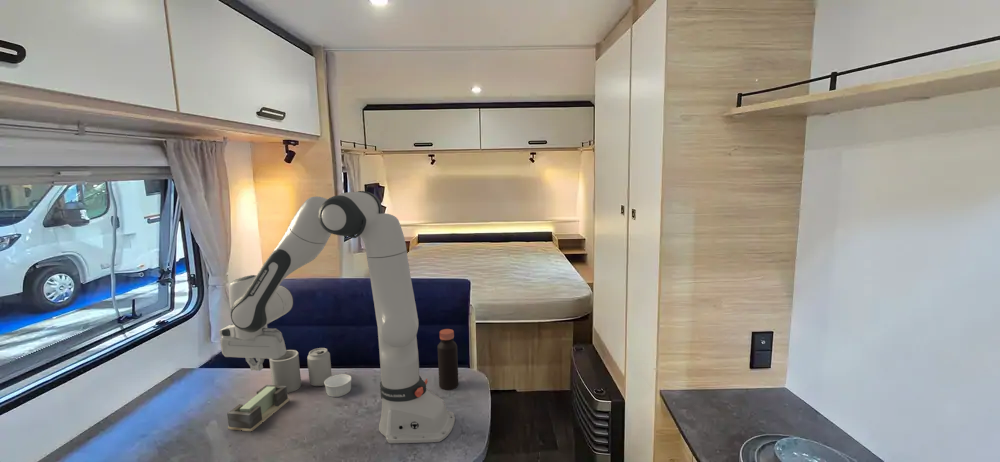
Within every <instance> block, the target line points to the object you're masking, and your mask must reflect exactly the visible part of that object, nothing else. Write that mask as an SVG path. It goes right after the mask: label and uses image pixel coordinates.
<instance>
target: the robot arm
mask: <svg viewBox="0 0 1000 462" xmlns="http://www.w3.org/2000/svg"><path fill="white" fill-rule="evenodd" d="M382 211H383V207H382V203H381V201H380V199H379V198H378V196H377V195H375V194H374V193H372V192H369V191H365V190H360V191H347V192H343V193H341V194H338V195H333V196H331V197H329V198H326V197H323V196H311V197H308V198H307V199H306V200H305V201H304V202H303V203H302V204H301V206H300V207H299V209H298V210H297V211H296V213H295V214H294V216H293V218H292V219H291V221H290V223H289V225H288V227H287V228H286V230H285V233H284V234H283V235H282V238H281V239H280V241H279V242H278V244H277V245H276V247H275V248H274V249H273V251H272V253H270V255H269V256H268V258H267V259H266V260H265V262H263V265H262V266H261V268H260V270H258V272H257V275H255V274H250V275H247V276H243V277H239V278H236V279H235V280H232V281H231V282H230V283H229V286H228V298H229V299H228V301H229V307H230V318H231V322H232V323H231V324H229V325H227V326H225V327H223V328H221V329H219V331H218V333H219V336H220V337H221V338H220V339H219V340H220V349H221V354H222V356H224V357H225V358H243V359H244V358H245V362H247V363H246V364H248V366H249V367H250V370H251V371H257V372H258V371H259V372H260V371H262V370H263V369H264V366H263V363H264V361H265V359H267V360H269V359H279V358H281V357H282V356H284V355H285V353H286V350H287V348H286V344H285V343H286V342H285V340H284V337H283V333H282V332H281V331H280V330H279V329H278V328H274V327H273V328H272V327H271V328H269V327H268V325H269V324H270V323H272V322H273V321H275V320H278V319H279V318H281V317H282V316H283V317H284V315H286V314H287V313H289V312H290V311H291V310H292V309H293V306H294V297H293V294H292V292H291V291H290V289H288V287H285V286H284V285H281V284H282V282H283V281H284V280H285V279H286V278H287V277H288V276H289V275H291V274H292V273H294V272H296V270H298V269H300V268H302V267H304V266H305V265H307V264H309V263H311V262H312V261H314V260H315V259H316V258H317V257H318V256H319V255H320V254H321V252H322V251H323V250H324V249H325V246H326V244H327V243H328V241H329V240H330V239H329V238H331V235H334V236H341V237H347V238H351V239H357V238H359V237H360V238H361V239H362V241H363V244H364V248H365V252H366V253H365V254H366V262H367V266H368V272H369V273H368V274H369V278H370V286H371V292H372V300H373V304H374V312H375V313H374V314H375V320H376V325H377V336H378V337H377V339H378V349H379V350H378V351H379V364H380V379H381V380H380V382H379V384H380V385H379V390H380V392H379V393H380V398H381V414H380V419H379V420H380V421H379V425H378V430H379V432H380V433H381V435H383V436H384V437H385V440H386V442H387V443H388V444H411V443H413V444H415V443H417V444H418V443H420V444H421V443H439V442H442V441H443V440H445V438H447V437H448V436H449V435H450V433H452V430H453V429H454V426H455V422H456V418H455V413H454V412H453V411H451V410H447V405H446V402H445V400H444V399H443V398H442V397H440V396H438V395H437V394H435V393H434V392H432V390H430V389H428V388H427V384H428V382H429V381H428V378H425V380H423V379H422V376H421V374H420V361H419V349H418V339H417V335H418V330H419V317H418V311H417V304H416V301H415V299H416V298H415V293H414V288H413V282H412V277H411V271H410V264H409V257H408V256H409V255H408V251H407V244H406V239H405V234H404V232H403V231H404V230H403V228H402V226H401V225H402V224H401V223H400V221H399V219H398V217H396V216H395V215H393V214H390V213H386V212H385V213H382Z"/></svg>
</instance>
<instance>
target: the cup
mask: <svg viewBox="0 0 1000 462" xmlns="http://www.w3.org/2000/svg"><path fill="white" fill-rule="evenodd" d="M268 360H269V368H270V369H269V370H270V378H271V385H277V386H287V394H290V393H293V392H294V391H297V390H298V389H299V388H301V386H302V377H301V368H300V357H299V352H298V351H297V350H296V349H286V353H285V355H284V356H282V357H281V358H279V359H268Z"/></svg>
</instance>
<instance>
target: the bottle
mask: <svg viewBox="0 0 1000 462" xmlns="http://www.w3.org/2000/svg"><path fill="white" fill-rule="evenodd" d="M454 337H455V331H454V330H453V328H452V329H450V328H444V329H441V330H440V331H439V340H440V342H439V343H438V344H437V363H438V385H439V388H440V389H442V390H445V391H450V390H454V389H456V388H457V387H458V386H459V365H458V364H459V363H458V359H459V358H458V345H457V343H456V341H454V339H455V338H454Z"/></svg>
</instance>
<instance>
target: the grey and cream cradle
mask: <svg viewBox="0 0 1000 462" xmlns="http://www.w3.org/2000/svg"><path fill="white" fill-rule="evenodd" d="M266 387H276V392H275V393H274V402H275V403H274V404H273V405H272V406H271V407H270V408H269V409H267V410H266V411H265V412H264V413H263V414H262V413H261V406H256V407H255V408H254V409H253V410H251V411H250V412H249V413H248V412H240V408H241V407H242V406H244V405H243V404H241V403H240V404H238V405H237V406H234V408H232V409H230V411H228V412H227V415H226V416H227V423H228V426H227V429H228V430H234V431H241V430H242V431H243V432H251V431H252V432H253V431H254V430H255V429H256V428H258V427H259V426H260V425H261V424H263V423H264V422H265V421H267V420H268V419H269V418H270V417H271V416H273V413H274V414H275V413H276V412H277V411H278V410H280V409H281V408H282V407H283V406H284V405H286V404H287V403H288V402H289V401H290V399H289V396H288V394H289V393H287V386H277V385H272V384H265V385H264V386H263V387H262V388H260V389H259V390H257V391H256V395H257V394H258V393H260V392H261V391H262V390H263V389H264V388H266ZM262 422H263V423H262Z"/></svg>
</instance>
